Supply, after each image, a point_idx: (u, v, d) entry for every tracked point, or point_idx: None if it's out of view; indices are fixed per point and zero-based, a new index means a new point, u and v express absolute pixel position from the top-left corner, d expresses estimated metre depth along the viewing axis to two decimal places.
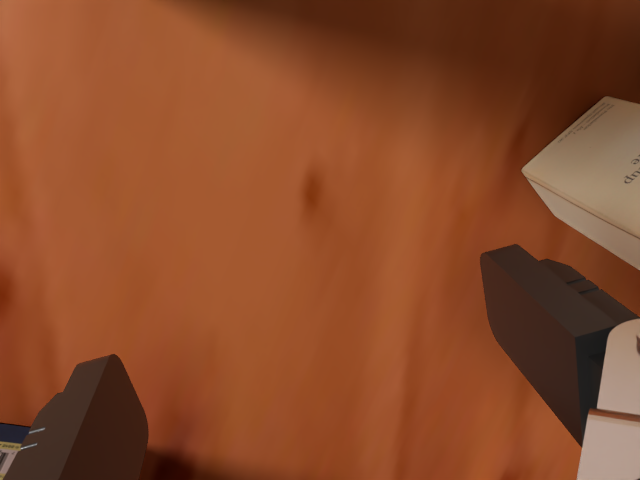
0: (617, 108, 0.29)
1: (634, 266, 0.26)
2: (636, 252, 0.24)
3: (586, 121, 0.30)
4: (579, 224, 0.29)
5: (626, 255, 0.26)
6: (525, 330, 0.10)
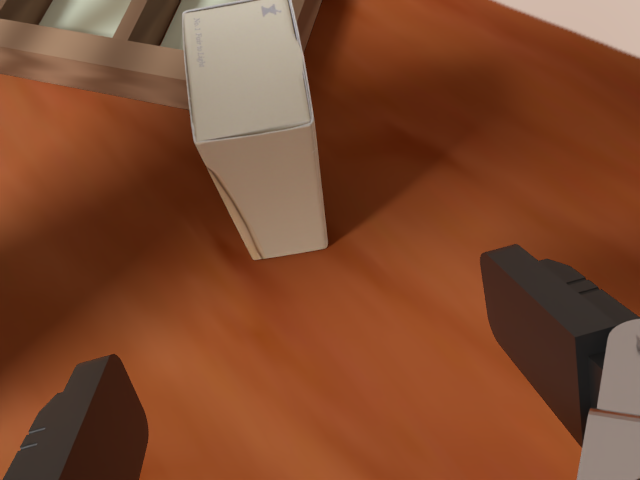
0: None
1: (314, 191, 0.23)
2: (262, 183, 0.22)
3: None
4: (296, 228, 0.27)
5: (293, 194, 0.23)
6: (525, 330, 0.10)
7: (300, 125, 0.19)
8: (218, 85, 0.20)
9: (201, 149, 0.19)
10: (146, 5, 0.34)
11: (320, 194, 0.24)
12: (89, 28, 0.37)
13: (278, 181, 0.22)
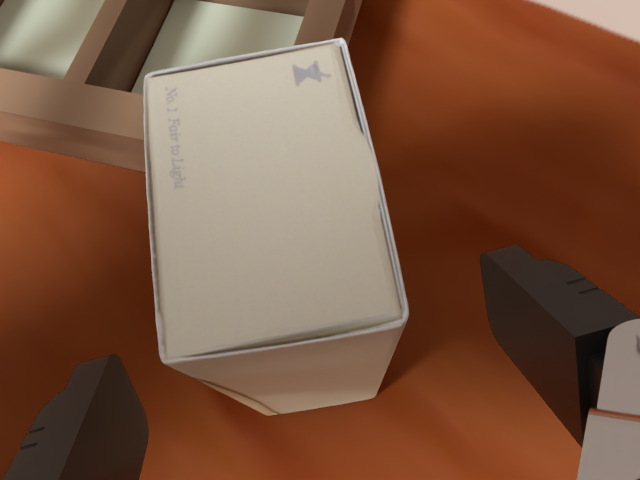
0: None
1: (377, 371, 0.14)
2: (291, 378, 0.12)
3: None
4: (336, 394, 0.17)
5: (342, 378, 0.14)
6: (525, 331, 0.10)
7: (381, 325, 0.09)
8: (212, 229, 0.10)
9: (176, 367, 0.09)
10: (113, 32, 0.24)
11: (385, 370, 0.14)
12: (38, 60, 0.27)
13: (321, 373, 0.12)
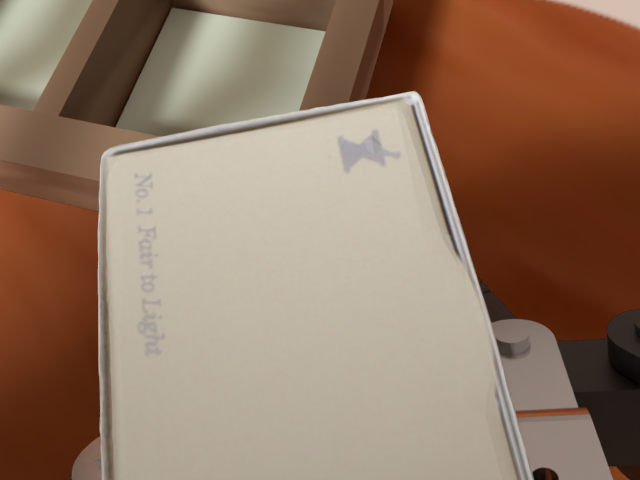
0: None
1: None
2: None
3: None
4: None
5: None
6: None
7: None
8: (209, 437, 0.06)
9: None
10: (95, 52, 0.20)
11: None
12: (10, 83, 0.23)
13: None
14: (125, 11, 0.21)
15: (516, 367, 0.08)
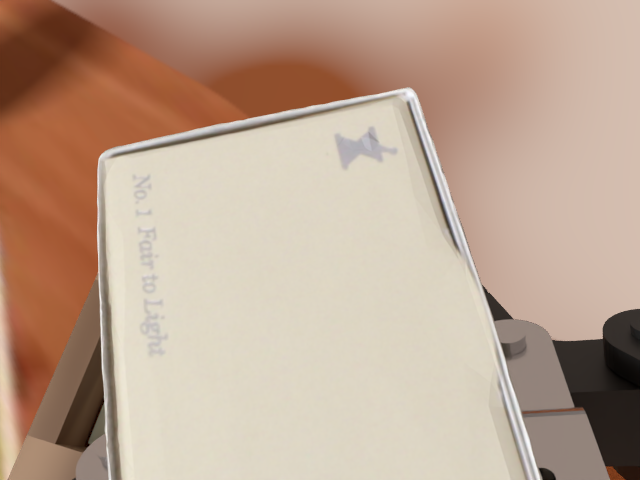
0: None
1: None
2: None
3: None
4: None
5: None
6: None
7: None
8: (215, 435, 0.06)
9: None
10: None
11: None
12: None
13: None
14: None
15: (512, 367, 0.08)
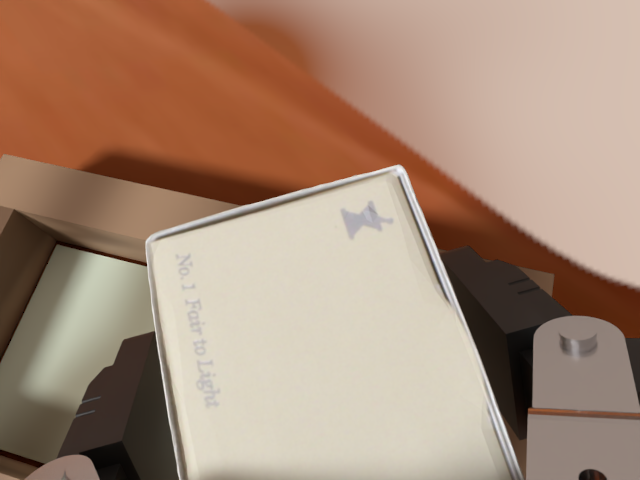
0: None
1: None
2: None
3: None
4: None
5: None
6: (471, 328, 0.11)
7: None
8: (267, 468, 0.07)
9: None
10: None
11: None
12: None
13: None
14: None
15: (587, 365, 0.07)
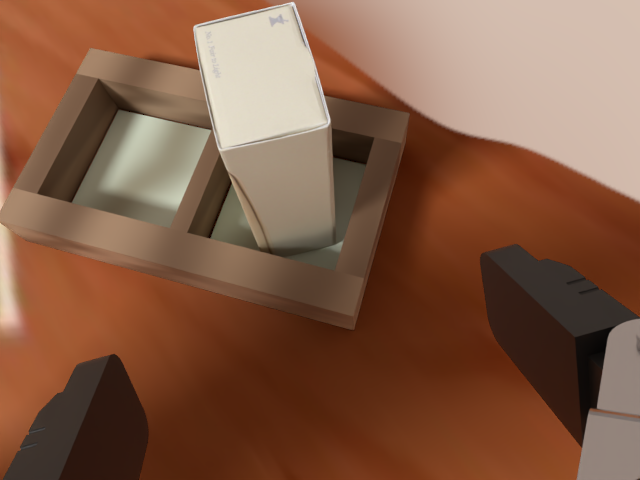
0: None
1: (327, 189, 0.24)
2: (279, 185, 0.23)
3: None
4: (308, 226, 0.28)
5: (307, 194, 0.24)
6: (525, 330, 0.10)
7: (318, 127, 0.20)
8: (237, 94, 0.21)
9: (225, 156, 0.20)
10: (207, 186, 0.30)
11: (332, 192, 0.25)
12: (137, 192, 0.33)
13: (295, 182, 0.23)
14: None
15: None
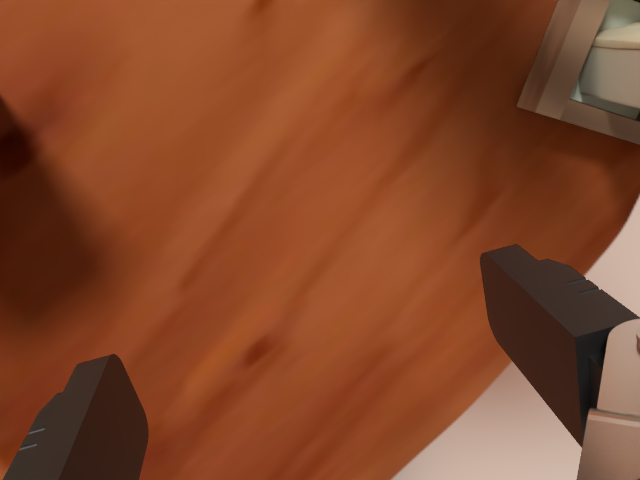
0: None
1: (638, 104, 0.35)
2: None
3: (637, 23, 0.40)
4: (606, 80, 0.38)
5: (638, 90, 0.35)
6: (525, 331, 0.10)
7: None
8: None
9: None
10: None
11: (634, 106, 0.36)
12: None
13: None
14: None
15: None
